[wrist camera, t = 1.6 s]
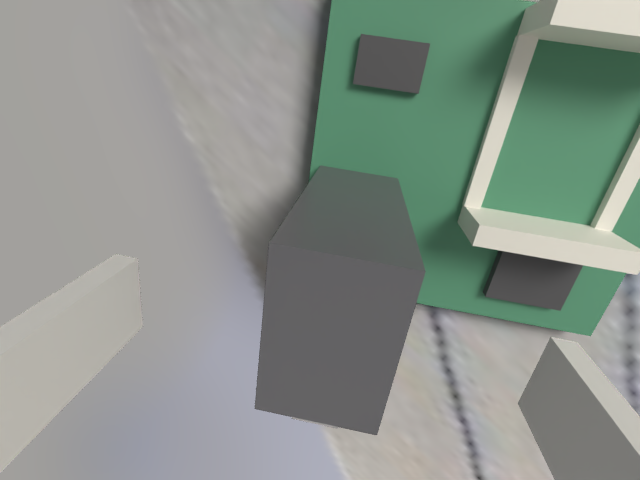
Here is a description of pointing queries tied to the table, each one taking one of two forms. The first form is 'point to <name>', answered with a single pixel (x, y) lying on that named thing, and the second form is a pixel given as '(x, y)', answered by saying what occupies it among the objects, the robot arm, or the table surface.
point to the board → (497, 144)
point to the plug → (338, 301)
